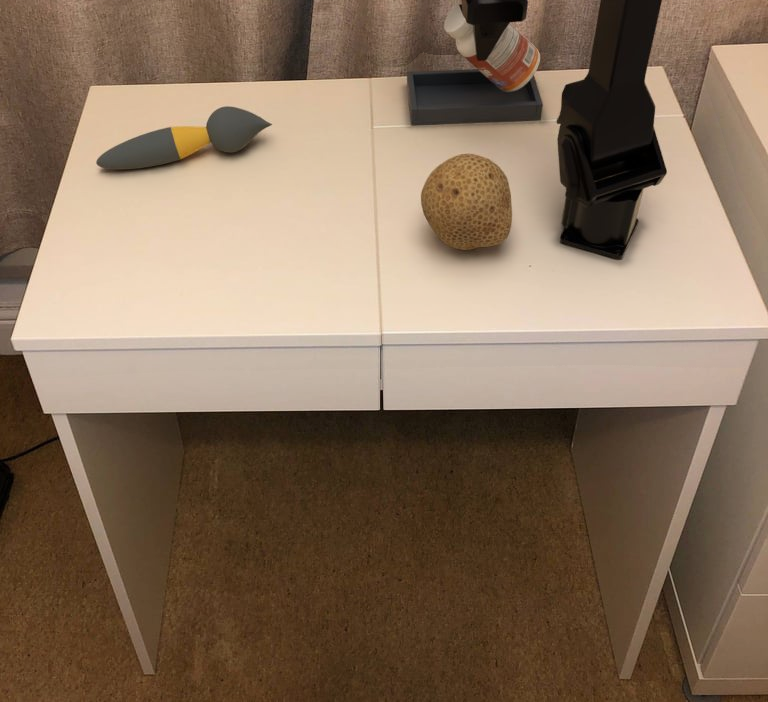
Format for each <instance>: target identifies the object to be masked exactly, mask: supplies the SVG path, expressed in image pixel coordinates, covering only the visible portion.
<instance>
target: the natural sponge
mask: <svg viewBox="0 0 768 702" xmlns="http://www.w3.org/2000/svg"><path fill="white" fill-rule="evenodd" d="M510 187H511V186H510V183H509V180H508V177H507V175H506V174H505V171H504V170H502V168H501V167H500V166H499V165H498V164H497V163H496V162H494V161H492V160H491V159H489V158H487V157H484V156H481V155H478V154H476V153H461V154H457V155H455V156H452V157H450V158H448V159H446V160H444V161H443V162H442V163H440V164H438V166H436V167H435V168H434V169H433V170H432V171H431V172H430V173H429V175H428V176H427V178H426V180H425V182H424V184H423V186H422V189H421V192H420V205H421V208H422V212H423V216H424V218H425V219H426V221H427V223H428V224H429V226H430V228H431V229H432V230H433V233H435V235H436V236H437V238H439V239H440V240H441V242H443V243H445V244H446V245H447V246H449V247H451V248H453V249H456V250H460V251H467V250H473V249H477V248H483V247H484V248H485V247H494V246H497V245H500V244H501V243H504V241H506V240H507V238H508V237H509V235H510V233H511V229H512V223H513V208H512V207H513V206H512V193H511V188H510Z"/></svg>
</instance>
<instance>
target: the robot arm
mask: <svg viewBox="0 0 768 702" xmlns="http://www.w3.org/2000/svg"><path fill="white" fill-rule="evenodd" d="M461 2H462V4H459V6H460V9H461V12H462V14H463V16H464V18H465V20H466V22H467V23H468V24H471V25H473V34H474V42H475V51H476V58H477V60H478V61H484V60H487V58H488V57H489V55H490V53H491V52H492V50H493V48H494V47H495V45H496V43H497V42H498V40H499V38H500V37H501V35H502V34H503V32H504V31H505V29H506V28H507V26H508V25H509V23H520V22H521V23H523V22H524V21H525V20H527V14H528V5H529V0H461ZM662 2H663V0H600V2H599V8H598V14H597V20H596V26H595V30H594V31H595V32H594V38H593V43H592V49H591V55H590V61H589V62H590V63H589V68H588V71H587V74H586V76H585V77H584V78H583V79H580V80H577V81H574V82H570V83H566V84H565V85H564V87H563V89H562V92H561V96H560V97H561V100H560V101H561V102H560V104H561V105H560V111H559V115H558V117H557V118H556V124H557V125H559V129H558V134H557V141H556V142H557V155H558V171H559V182H560V184H561V185H562V186H563V187H564V188H565V194H564V196H565V200H564V205H563V210H562V215H561V216H562V217H561V223H560V224H561V226H562V227H564V229H563V230H562V232H561V234H560V237H559V242H560V243H562V244H564V245H568V246H571V247H575V248H578V249H580V250H581V249H582V250H585V251H589V252H593V253H595V254H599V255H602V256H606V257H609V258H613V259H617V260H620V259H622V258H624V255H625V253H626V251H627V249H628V246H629V245H630V243H631V241H632V238H633V236H634V233H635V231H636V229H637V228H638V224H639V219H638V218H637V217H638V213H639V209H640V205H641V202H642V198H643V192H644V189H647V188H649V187H652V186H653V187H656V186H658V185H660V184H661V183H662V181H663V180H664V178H665V177H666V175H667V174H668V170H667V167H666V166H667V165H666V163H665V160H664V157H663V153H662V149H661V147H660V143H659V140H658V137H657V136H658V135H657V133H656V129H655V117H656V116H655V115H656V104H655V102H654V99H653V97H652V95H651V92H650V91H649V88H648V86H647V84H646V74H647V70H648V66H649V62H650V56H651V51H652V47H653V44H654V39H655V34H656V30H657V25H658V20H659V16H660V12H661V7H662Z"/></svg>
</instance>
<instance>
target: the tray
mask: <svg viewBox="0 0 768 702" xmlns="http://www.w3.org/2000/svg"><path fill="white" fill-rule="evenodd" d="M406 91H407V99H408V101H407V102H408V110H409V119H410V126H431V125H432V126H433V125H456V124H457V125H458V124H480V123H484V124H485V123H507V122H508V123H509V122H530V121H541V120H542V113H543V105H544V104H543V101H542V97H541V94H540V91H539V88H538V83H537V81H536V77H535V74H534V75H533V77H532V78H531V79H530V80H529V81H528V83H527V84H525V85H524V86H523V87H522V88H520V89H518V90H516V91H513V92H504V91H502V90H501V89H499V88H498V87H497V86H496V85H495V84H494V83H493V82H491V81H490V80H489V79H488V78H487V77H486V76H485V75H484V74H482V73H481V72H480V71H479V70H478V69H477V68H470V69H469V68H468V69H446V70H445V69H444V70H422V71H421V70H419V71H417V70H416V71H406Z"/></svg>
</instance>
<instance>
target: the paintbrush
mask: <svg viewBox="0 0 768 702" xmlns="http://www.w3.org/2000/svg"><path fill="white" fill-rule="evenodd" d="M272 125H273V123H270V122H269V121H267V120H266V119H264V118H262V117H261V116H259V115H257V114H255V113H253V112H251V111H250V110H249V111H248V110H246V109H243V108H240V107H236V106H227V105H226V106H221V107H219V108H217V109H216V110H214V111H212V112H211V114H210V115H209V117H208V119H207V121H206V125H205V126H190V125H189V126H185V125H184V126H183V125H182V126H168V127H164V128H159V129H156V130H152V131H150V132H146V133H143V134H140V135H137V136H135V137H132V138H130V139H128V140H125V141H123V142H121V143H119V144H116V145H115V146H113V147H111V148H109V149H108V150H105V152H103V153H102V154H100V156H98V158H97V159H96V163H95V164H96V165H97V166H98V167H99V168H102V169H108V170H132V169H142V168H143V169H144V168H150V167H156V166H160V165H164V164H169V163H173V162H176V161H177V162H178V161H179V160H182V159H185V158H187V157H188V156H190V155H193V154H194V153H196V152H197V151H200V150H201V149H202V148H204V147H206V146H208V145H209V144H211V145H212V146H213V147H214V148H215V149H217V150H219V151H221V152H224V153H236V152H239V151H241V150H243V148H245V147H246V146H247V145H249V144H250V143H251V141H253V139H254V138H255V137H256V136H257V135H258V134H259V133H261V132H262V131H263V130H265V129H267V128H269V127H270V126H272Z"/></svg>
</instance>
